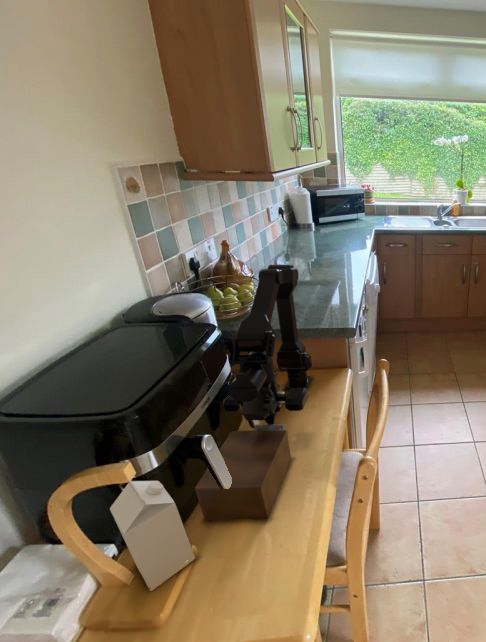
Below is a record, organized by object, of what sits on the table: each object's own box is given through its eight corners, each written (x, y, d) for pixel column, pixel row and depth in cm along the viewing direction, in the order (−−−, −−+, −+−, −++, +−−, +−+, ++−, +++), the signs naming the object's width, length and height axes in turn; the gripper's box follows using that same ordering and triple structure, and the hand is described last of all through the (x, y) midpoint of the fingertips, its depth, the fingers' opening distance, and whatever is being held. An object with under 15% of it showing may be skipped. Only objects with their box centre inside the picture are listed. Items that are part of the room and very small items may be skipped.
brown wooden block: (238, 460, 90) (231, 431, 86) (291, 459, 90) (286, 430, 87) (205, 520, 76) (194, 488, 72) (268, 519, 76) (260, 487, 72)
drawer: (250, 439, 95) (245, 417, 92) (295, 439, 95) (292, 416, 92) (212, 507, 77) (204, 481, 74) (268, 506, 78) (262, 480, 75)
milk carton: (151, 592, 63) (115, 516, 56) (136, 566, 67) (101, 491, 60) (195, 559, 69) (168, 485, 61) (179, 536, 72) (152, 463, 65)
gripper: (203, 396, 80) (219, 450, 87) (291, 395, 81) (300, 449, 88) (227, 367, 90) (240, 417, 97) (305, 367, 91) (312, 417, 98)
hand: (272, 425), depth 94 cm, fingers closed, pressing on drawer
